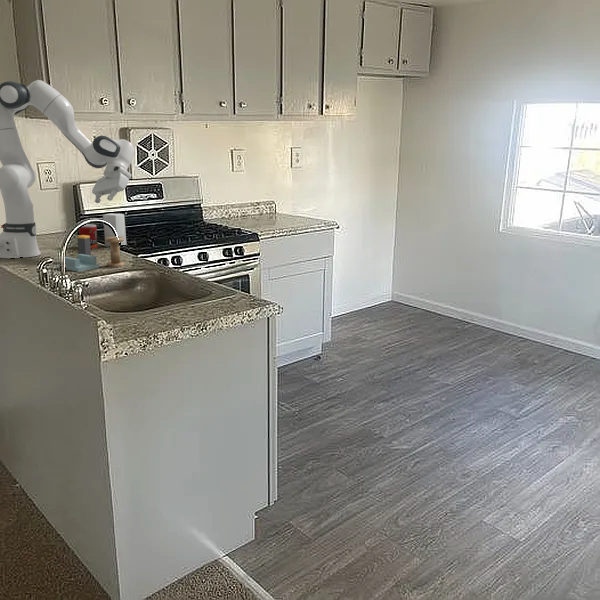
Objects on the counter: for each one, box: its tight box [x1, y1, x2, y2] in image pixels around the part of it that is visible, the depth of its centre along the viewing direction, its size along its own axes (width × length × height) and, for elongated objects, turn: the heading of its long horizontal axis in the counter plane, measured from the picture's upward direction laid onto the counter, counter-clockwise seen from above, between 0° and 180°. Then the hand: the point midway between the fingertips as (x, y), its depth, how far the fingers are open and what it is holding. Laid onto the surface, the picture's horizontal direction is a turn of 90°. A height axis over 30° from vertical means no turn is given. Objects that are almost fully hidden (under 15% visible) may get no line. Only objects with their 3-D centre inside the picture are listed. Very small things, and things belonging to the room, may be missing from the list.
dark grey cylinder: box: [76, 235, 92, 256], centre depth 257 cm, size 4×4×11 cm
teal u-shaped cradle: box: [57, 253, 100, 273], centre depth 244 cm, size 12×10×4 cm
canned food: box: [78, 223, 98, 250], centre depth 289 cm, size 8×8×11 cm
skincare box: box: [102, 213, 127, 247], centre depth 296 cm, size 8×7×16 cm
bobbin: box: [104, 237, 126, 268], centre depth 249 cm, size 7×7×11 cm
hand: (103, 201), depth 262 cm, fingers open, 8 cm apart
